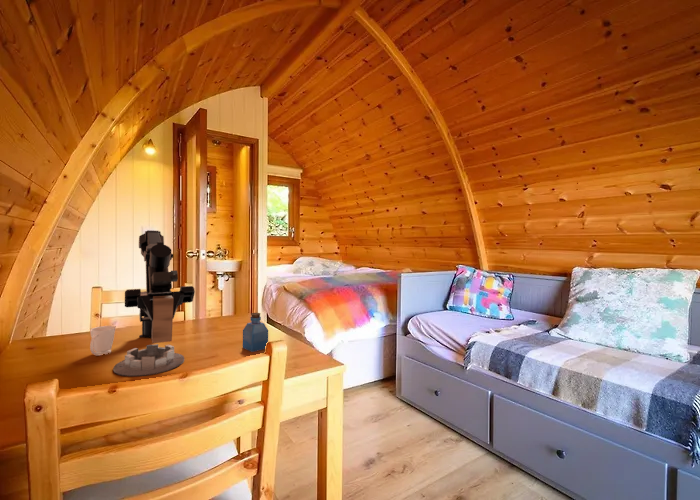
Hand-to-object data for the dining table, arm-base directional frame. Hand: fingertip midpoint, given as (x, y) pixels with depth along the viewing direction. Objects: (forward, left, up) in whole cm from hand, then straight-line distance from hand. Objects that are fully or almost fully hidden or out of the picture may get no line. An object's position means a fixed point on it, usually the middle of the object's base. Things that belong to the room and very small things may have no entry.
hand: (162, 319), depth 100 cm
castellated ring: (-3, -1, -13) cm, 14 cm away
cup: (-24, +5, -14) cm, 28 cm away
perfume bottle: (+22, +18, -14) cm, 31 cm away
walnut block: (-1, +1, -7) cm, 7 cm away
